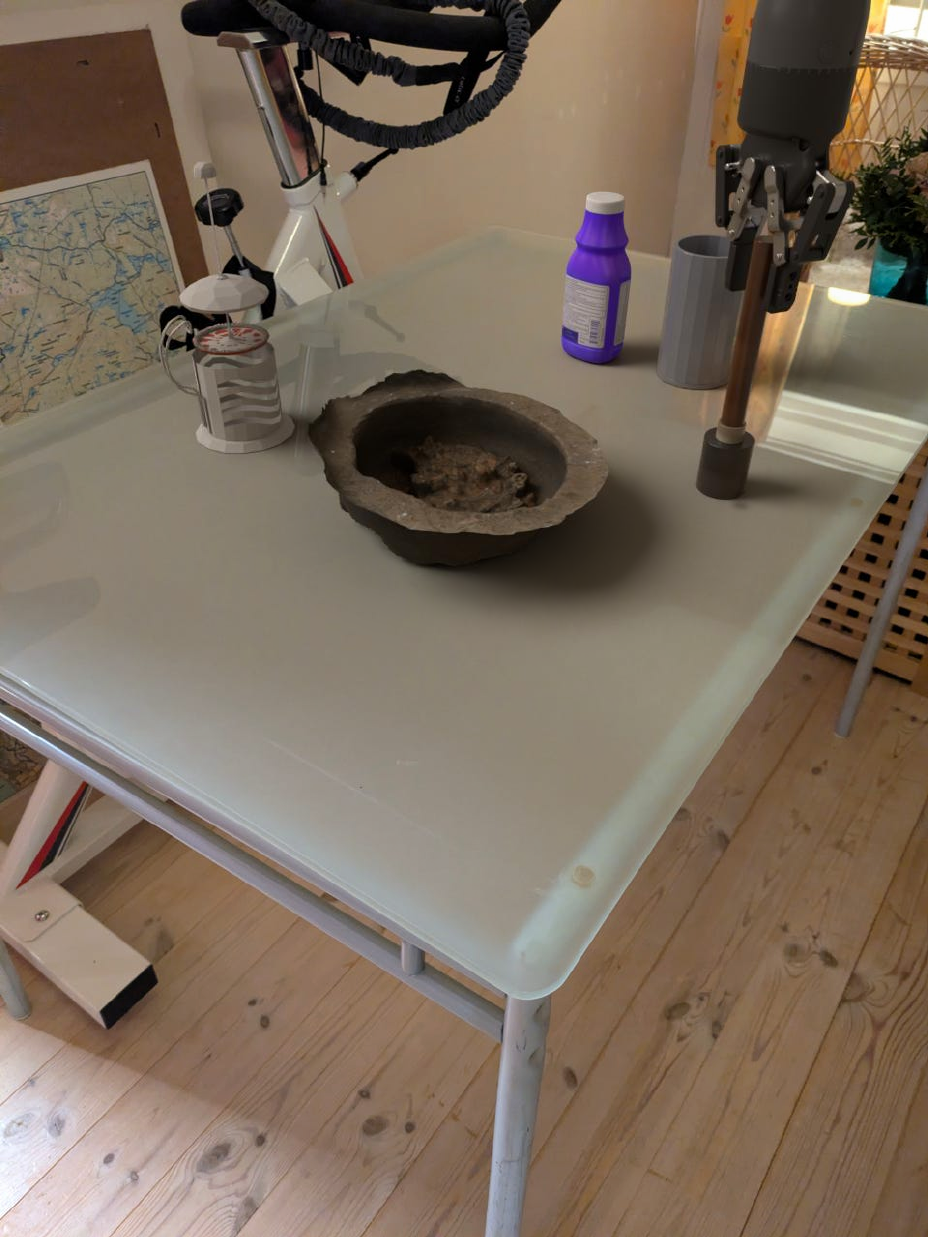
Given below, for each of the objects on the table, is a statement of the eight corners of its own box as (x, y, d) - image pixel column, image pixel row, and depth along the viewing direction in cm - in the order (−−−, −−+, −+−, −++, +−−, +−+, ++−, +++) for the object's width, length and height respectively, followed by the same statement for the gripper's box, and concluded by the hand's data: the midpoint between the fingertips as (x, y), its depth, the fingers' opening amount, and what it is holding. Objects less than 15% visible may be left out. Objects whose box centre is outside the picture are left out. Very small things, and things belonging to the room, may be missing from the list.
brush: (726, 471, 89) (774, 227, 75) (754, 493, 86) (809, 243, 72) (686, 480, 88) (727, 233, 74) (712, 503, 85) (760, 250, 71)
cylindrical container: (703, 355, 110) (724, 230, 101) (743, 382, 104) (769, 252, 96) (643, 365, 108) (659, 238, 99) (680, 394, 102) (701, 261, 93)
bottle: (631, 355, 110) (649, 196, 99) (602, 370, 107) (617, 207, 96) (581, 339, 114) (593, 184, 103) (551, 353, 111) (560, 194, 100)
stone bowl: (275, 479, 87) (270, 383, 82) (517, 445, 96) (526, 356, 91) (366, 631, 69) (367, 521, 64) (652, 571, 79) (674, 470, 73)
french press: (310, 437, 94) (280, 166, 79) (196, 467, 90) (140, 185, 74) (272, 400, 101) (238, 142, 85) (165, 426, 96) (107, 158, 81)
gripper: (920, 67, 61) (853, 325, 72) (784, 38, 72) (743, 266, 82) (825, 75, 59) (770, 339, 70) (699, 43, 70) (668, 277, 80)
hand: (756, 298), depth 76 cm, fingers open, 4 cm apart
